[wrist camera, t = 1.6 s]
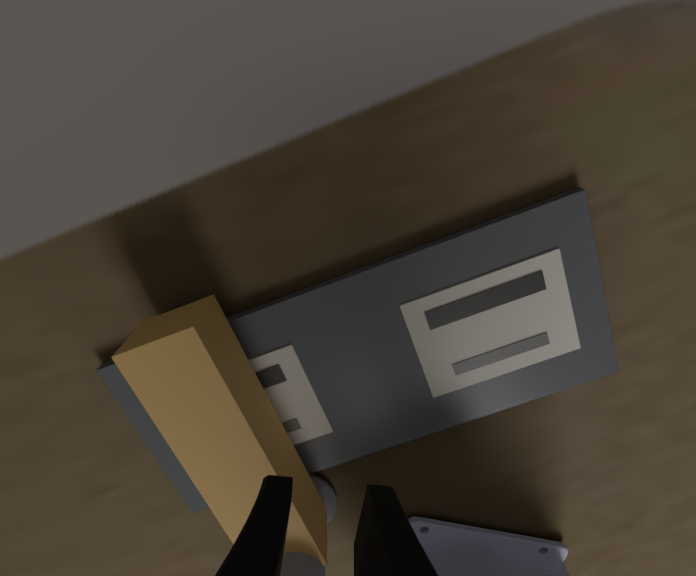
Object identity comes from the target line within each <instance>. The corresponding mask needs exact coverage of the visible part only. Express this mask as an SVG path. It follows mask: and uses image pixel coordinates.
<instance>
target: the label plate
mask: <svg viewBox="0 0 696 576" xmlns="http://www.w3.org/2000/svg"><path fill="white" fill-rule="evenodd" d="M226 319H227V321H228V322H229V324H230V326H231V328H232V330H233V332H234V334H235V336H236V338H237V339H238V341H239V343H240V345H241V347H242V349H243V351H244V353H245V355H246V357H247V358H248V360H249V362H250V364H251V366H252V368H253V370H254V372H255V374H256V375H257V377H258V379H259V381H260V383H261V385H262V387H263V389H264V391H265V393H266V394H267V396H268V398H269V400H270V402H271V404H272V406H273V408H274V410H275V411H276V413H277V415H278V417H279V419H280V421H281V423H282V425H283V427H284V429H285V430H286V432H287V434H288V436H289V438H290V440H291V442H292V444H293V446H294V447H295V449H296V451H297V453H298V455H299V457H300V459H301V461H302V463H303V465H304V466H305V468H306V470H307V472H308V474H309V476H310V478H311V480H312V482H313V483H314V485H315V487H316V489H317V491H318V493H319V495H320V497H321V499H322V501H323V502H324V504H325V506H326V508H327V524H329V523H330V522H331V520H332V519H333V517H334V516H335V514H336V510H337V496H336V493H335V490H334V489H333V487H332V486H331V485H330V483H329V482H327V481H326V480H325V479H323V478H322V477H320V476H318V475H315V474H312V473H314V472H317V471H320V470H323V469H326V468H329V467H332V466H335V465H338V464H341V463H344V462H347V461H351V460H354V459H357V458H360V457H363V456H366V455H369V454H372V453H375V452H378V451H381V450H384V449H387V448H390V447H393V446H396V445H399V444H402V443H405V442H408V441H411V440H414V439H417V438H420V437H423V436H426V435H429V434H432V433H435V432H438V431H441V430H444V429H447V428H450V427H453V426H456V425H459V424H462V423H465V422H468V421H471V420H474V419H477V418H480V417H484V416H487V415H490V414H493V413H496V412H499V411H502V410H505V409H508V408H511V407H514V406H517V405H520V404H523V403H526V402H529V401H532V400H535V399H538V398H541V397H544V396H547V395H550V394H553V393H556V392H559V391H562V390H565V389H568V388H571V387H574V386H577V385H580V384H583V383H586V382H589V381H592V380H595V379H598V378H601V377H604V376H607V375H610V374H614V373H617V372H619V370H618V364H617V359H616V353H615V348H614V342H613V337H612V331H611V326H610V320H609V315H608V310H607V304H606V299H605V293H604V288H603V282H602V277H601V271H600V266H599V260H598V255H597V249H596V244H595V238H594V233H593V227H592V222H591V217H590V211H589V206H588V200H587V195H586V189H582V188H579V187H577V188H574V189H572V190H569V191H566V192H564V193H561V194H558V195H556V196H553V197H550V198H547V199H545V200H542V201H539V202H537V203H534V204H531V205H529V206H526V207H523V208H521V209H518V210H515V211H512V212H510V213H507V214H504V215H502V216H499V217H496V218H494V219H491V220H488V221H486V222H483V223H480V224H477V225H475V226H472V227H469V228H467V229H464V230H461V231H459V232H456V233H453V234H450V235H448V236H445V237H442V238H440V239H437V240H434V241H432V242H429V243H426V244H424V245H421V246H418V247H415V248H413V249H410V250H407V251H405V252H402V253H399V254H397V255H394V256H391V257H389V258H386V259H383V260H380V261H378V262H375V263H372V264H370V265H367V266H364V267H362V268H359V269H356V270H354V271H351V272H348V273H345V274H343V275H340V276H337V277H335V278H332V279H329V280H327V281H324V282H321V283H319V284H316V285H313V286H310V287H308V288H305V289H302V290H300V291H297V292H294V293H292V294H289V295H286V296H283V297H281V298H278V299H275V300H273V301H270V302H267V303H265V304H262V305H259V306H257V307H254V308H251V309H248V310H246V311H243V312H240V313H238V314H235V315H232V316H230V317H227V318H226ZM96 371H97V373H98V374H99V376H100V377H101V379H102V380H103V382H104V383H105V384H106V386H107V387H108V389H109V390H110V392H111V393H112V395H113V396H114V398H115V399H116V401H117V402H118V404H119V405H120V407H121V408H122V410H123V411H124V413H125V414H126V415H127V417H128V418H129V420H130V421H131V423H132V424H133V426H134V427H135V429H136V430H137V432H138V433H139V435H140V436H141V438H142V439H143V441H144V442H145V444H146V445H147V446H148V448H149V449H150V451H151V452H152V454H153V455H154V457H155V458H156V460H157V461H158V463H159V464H160V466H161V467H162V469H163V470H164V472H165V473H166V475H167V476H168V478H169V479H170V480H171V482H172V483H173V485H174V486H175V488H176V489H177V491H178V492H179V494H180V495H181V497H182V498H183V500H184V501H185V503H186V504H187V506H188V507H189V509H190V510H191V511H192V513H193V512H196V511H199V510H202V509H205V508H208V507H209V506H208V504H207V503H206V501H205V500H204V498H203V497H202V495H201V494H200V492H199V491H198V489H197V488H196V486H195V485H194V483H193V482H192V480H191V478H190V477H189V475H188V474H187V472H186V471H185V469H184V468H183V466H182V465H181V463H180V462H179V460H178V459H177V457H176V456H175V454H174V453H173V451H172V449H171V448H170V446H169V445H168V443H167V442H166V440H165V439H164V437H163V436H162V434H161V433H160V431H159V430H158V428H157V427H156V425H155V423H154V422H153V420H152V419H151V417H150V416H149V414H148V413H147V411H146V410H145V408H144V407H143V405H142V404H141V402H140V401H139V399H138V398H137V396H136V394H135V393H134V391H133V390H132V388H131V387H130V385H129V384H128V382H127V381H126V379H125V378H124V376H123V375H122V373H121V372H120V370H119V368H118V367H117V365H116V364H115V362H114V361H113V360H111V361H108V362H106V363H103V364H102V365H101V366H100V367H99V368H98V369H97V370H96Z"/></svg>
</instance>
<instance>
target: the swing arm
mask: <svg viewBox="0 0 696 576" xmlns="http://www.w3.org/2000/svg"><path fill="white" fill-rule="evenodd" d="M111 358H112V359H113V361H114V362H115V364H116V365H117V367H118V368H119V370H120V372H121V373H122V375H123V376H124V378H125V379H126V381H127V382H128V384H129V385H130V387H131V388H132V390H133V391H134V393H135V394H136V396H137V398H138V399H139V401H140V402H141V404H142V405H143V407H144V408H145V410H146V411H147V413H148V414H149V416H150V417H151V419H152V420H153V422H154V423H155V425H156V427H157V428H158V430H159V431H160V433H161V434H162V436H163V437H164V439H165V440H166V442H167V443H168V445H169V446H170V448H171V449H172V451H173V453H174V454H175V456H176V457H177V459H178V460H179V462H180V463H181V465H182V466H183V468H184V469H185V471H186V472H187V474H188V475H189V477H190V478H191V480H192V482H193V483H194V485H195V486H196V488H197V489H198V491H199V492H200V494H201V495H202V497H203V498H204V500H205V501H206V503H207V504H208V506H209V508H210V509H211V511H212V512H213V514H214V515H215V517H216V518H217V520H218V521H219V523H220V524H221V526H222V527H223V529H224V530H225V532H226V533H227V535H228V537H229V538H230V540H231V541H232V543H233V544H234V543H235V541H236V539H237V537H238V536H239V534H240V532H241V530H242V528H243V526H244V524H245V523H246V521H247V518H248V516H249V514H250V512H251V510H252V508H253V506H254V503H255V501H256V499H257V496H258V494H259V491H260V488H261V485H262V481H263V478H264V477H266V476H267V475H276V476H286V477H293V488H292V501H291V508H290V514H289V521H288V527H287V533H286V540H285V546H284V553H283V559H282V566H281V572H280V576H325V565H327V508H326V506H325V504H324V502H323V501H322V499H321V497H320V495H319V493H318V491H317V489H316V487H315V485H314V483H313V482H312V480H311V478H310V476H309V474H308V472H307V470H306V468H305V466H304V465H303V463H302V461H301V459H300V457H299V455H298V453H297V451H296V449H295V447H294V446H293V444H292V442H291V440H290V438H289V436H288V434H287V432H286V430H285V429H284V427H283V425H282V423H281V421H280V419H279V417H278V415H277V413H276V411H275V410H274V408H273V406H272V404H271V402H270V400H269V398H268V396H267V394H266V393H265V391H264V389H263V387H262V385H261V383H260V381H259V379H258V377H257V375H256V374H255V372H254V370H253V368H252V366H251V364H250V362H249V360H248V358H247V357H246V355H245V353H244V351H243V349H242V347H241V345H240V343H239V341H238V339H237V338H236V336H235V334H234V332H233V330H232V328H231V326H230V324H229V322H228V321H227V319H226V317H225V315H224V313H223V311H222V309H221V307H220V305H219V303H218V302H217V300H216V298H215V296H214V294H213V295H211V296H208V297H205V298H203V299H200V300H198V301H195V302H192V303H190V304H187V305H184V306H182V307H179V308H176V309H174V310H171V311H168V312H166V313H163V314H160V315H158V316H155V317H152V318H150V319H147V320H145V321H143V322H142V323H141V324H140V325H139V326H138V328H137V329H136V330H135V331H134V332H133V333H132V334H131V335H130V336H129V338H128V339H127V340H126V341H125V342H124V343H123V344H122V345H121V347H120V348H119V349H118V350H117V351H116V352H115V353H114V354H113V356H112V357H111Z"/></svg>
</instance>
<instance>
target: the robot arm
mask: <svg viewBox="0 0 696 576" xmlns="http://www.w3.org/2000/svg"><path fill="white" fill-rule="evenodd" d="M292 488H293V477H286V476H276V475H267V476H266V477H264V478H263V481H262V485H261V488H260V491H259V494H258V496H257V499H256V501H255V503H254V506H253V508H252V510H251V512H250V514H249V516H248V518H247V521H246V523H245V524H244V526H243V528H242V530H241V532H240V534H239V536H238V537H237V539H236V541H235V543H234V545H233V547H232V549H231V550H230V552H229V554H228V556H227V557H226V559H225V560H224V562H223V564H222V565H221V567H220V569H219V570H218V572H217V573H216V575H215V576H280V572H281V566H282V559H283V553H284V546H285V540H286V533H287V527H288V521H289V514H290V508H291V501H292ZM422 527H425V528H422ZM567 555H568V549H567V547H566V545H565V544H564V543H562V542H558V541H553V540H547V539H541V538H536V537H530V536H524V535H519V534H513V533H507V532H502V531H496V530H490V529H485V528H479V527H473V526H468V525H462V524H456V523H451V522H445V521H439V520H434V519H428V518H423V517H416V516H414V517H410V518H409V519H408V518H407V516H406V514H405V512H404V510H403V508H402V506H401V504H400V501H399V499H398V497H397V495H396V493H395V491H394V489H393V488H392V487H388V486H378V485H367V489H366V494H365V498H364V502H363V507H362V511H361V516H360V520H359V525H358V529H357V533H356V538H355V542H354V576H570V575H569V573H568V571H567V569H566V567H565V565H564V563H563V561H564V560H565V558H566V556H567Z"/></svg>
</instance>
